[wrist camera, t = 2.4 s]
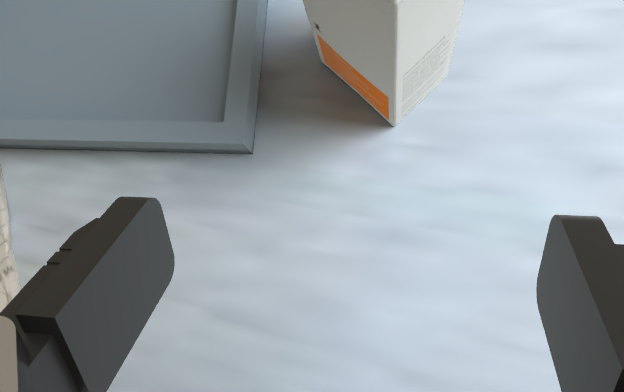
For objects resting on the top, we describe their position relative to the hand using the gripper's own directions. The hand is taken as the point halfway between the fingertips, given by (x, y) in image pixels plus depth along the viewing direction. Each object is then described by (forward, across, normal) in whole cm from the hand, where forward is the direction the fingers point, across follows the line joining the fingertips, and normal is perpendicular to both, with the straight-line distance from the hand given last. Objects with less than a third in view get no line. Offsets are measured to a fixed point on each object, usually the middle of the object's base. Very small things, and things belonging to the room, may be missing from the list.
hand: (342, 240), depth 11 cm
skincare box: (+20, 0, +3) cm, 20 cm away
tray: (+22, +17, +1) cm, 27 cm away
